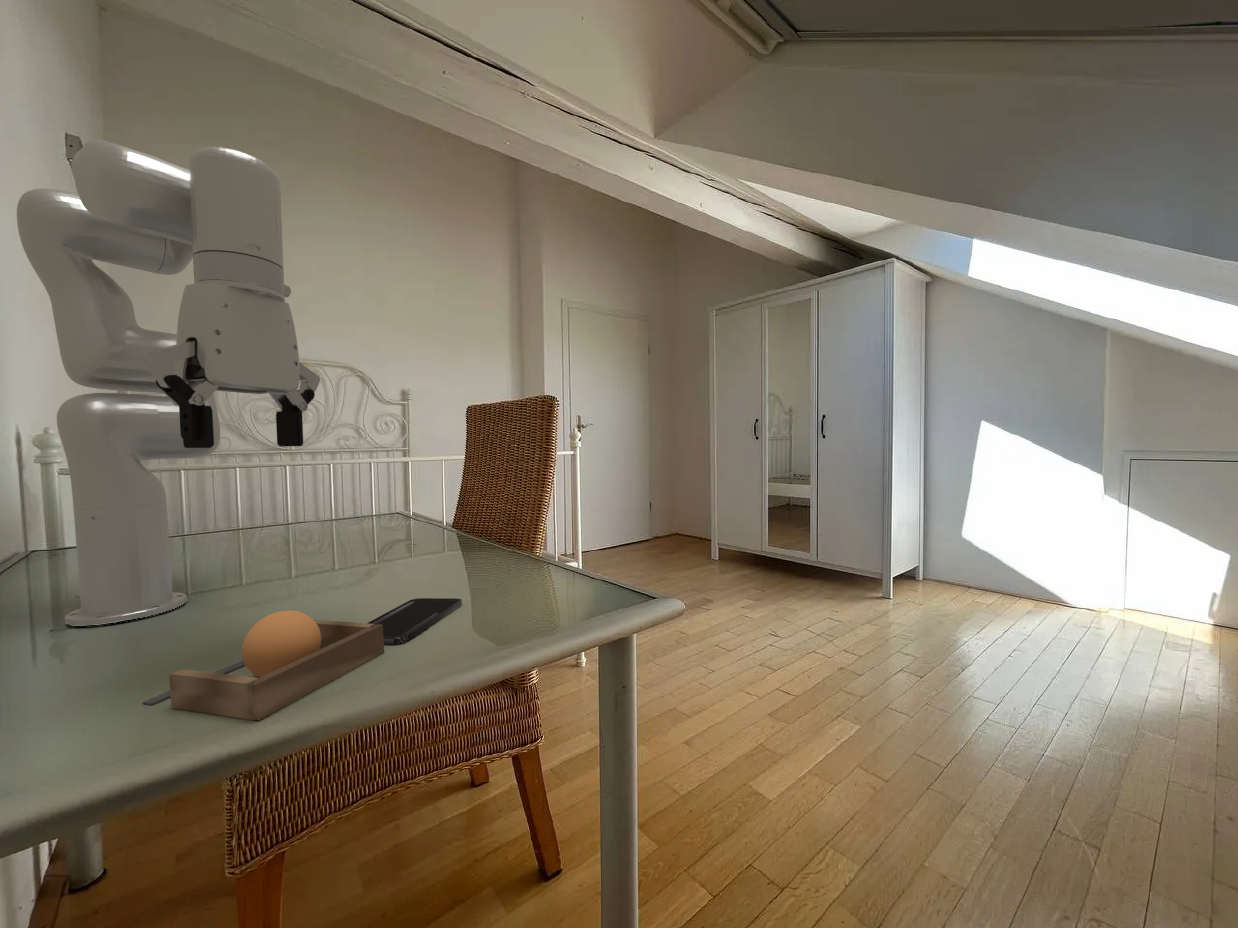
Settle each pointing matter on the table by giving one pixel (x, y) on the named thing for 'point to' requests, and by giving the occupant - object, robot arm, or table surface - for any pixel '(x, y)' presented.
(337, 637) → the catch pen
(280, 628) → the brown egg
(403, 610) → the phone
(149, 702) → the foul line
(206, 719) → the table surface
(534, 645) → the table surface
